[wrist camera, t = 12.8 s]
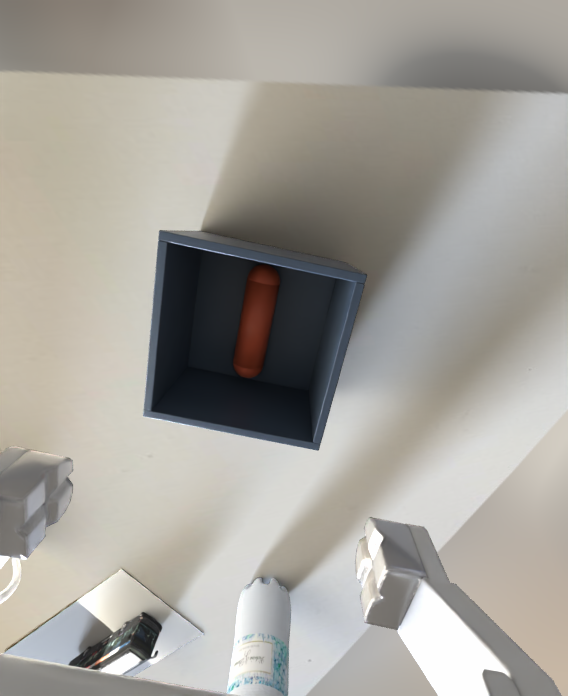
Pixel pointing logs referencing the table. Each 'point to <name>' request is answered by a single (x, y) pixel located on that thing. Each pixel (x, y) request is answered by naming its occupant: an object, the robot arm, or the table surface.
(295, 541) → the table surface
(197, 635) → the shiny metal sheet
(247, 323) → the orange round-ended cylinder
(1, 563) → the mug
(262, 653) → the bottle
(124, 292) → the table surface
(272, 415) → the bin
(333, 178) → the table surface
